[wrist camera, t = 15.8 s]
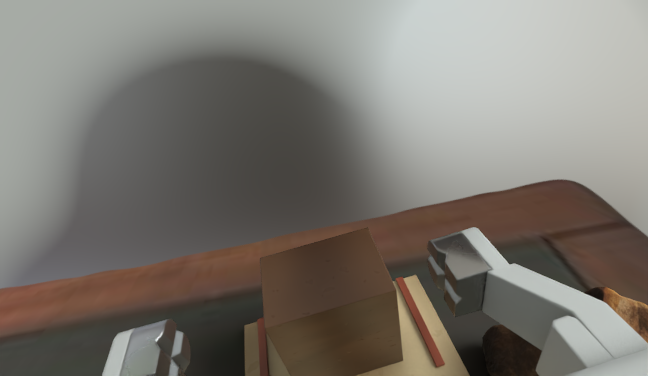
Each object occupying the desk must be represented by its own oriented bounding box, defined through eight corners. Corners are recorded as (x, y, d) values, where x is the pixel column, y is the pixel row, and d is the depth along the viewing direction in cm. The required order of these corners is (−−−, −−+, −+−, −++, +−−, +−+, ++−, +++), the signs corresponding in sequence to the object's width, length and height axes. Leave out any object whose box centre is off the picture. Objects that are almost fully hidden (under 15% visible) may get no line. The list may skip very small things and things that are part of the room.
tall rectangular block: (299, 393, 31) (264, 328, 25) (289, 322, 37) (259, 255, 30) (403, 361, 32) (396, 289, 25) (378, 296, 37) (367, 224, 31)
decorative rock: (638, 366, 29) (700, 289, 22) (662, 450, 24) (747, 384, 18) (481, 330, 33) (493, 257, 27) (478, 395, 29) (492, 327, 23)
